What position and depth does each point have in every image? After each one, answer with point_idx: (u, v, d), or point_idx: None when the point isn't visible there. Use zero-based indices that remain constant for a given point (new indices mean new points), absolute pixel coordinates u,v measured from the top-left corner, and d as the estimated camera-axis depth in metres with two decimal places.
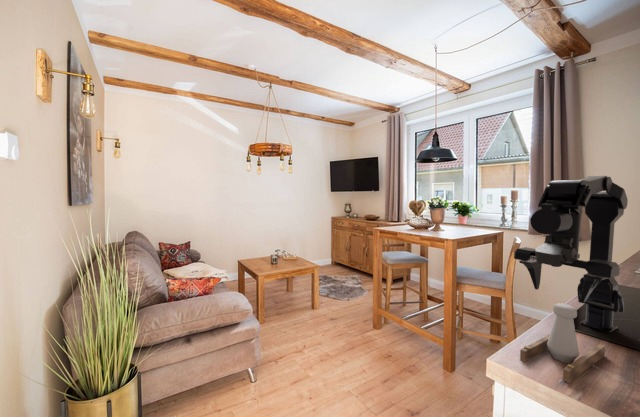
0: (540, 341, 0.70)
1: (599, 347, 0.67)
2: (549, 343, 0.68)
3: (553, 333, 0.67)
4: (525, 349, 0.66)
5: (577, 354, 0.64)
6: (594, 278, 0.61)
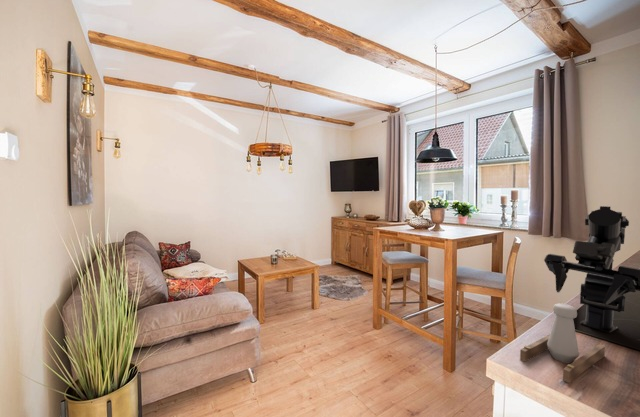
0: (540, 341, 0.70)
1: (599, 347, 0.67)
2: (549, 343, 0.68)
3: (553, 333, 0.67)
4: (525, 349, 0.66)
5: (577, 354, 0.64)
6: (625, 277, 0.65)
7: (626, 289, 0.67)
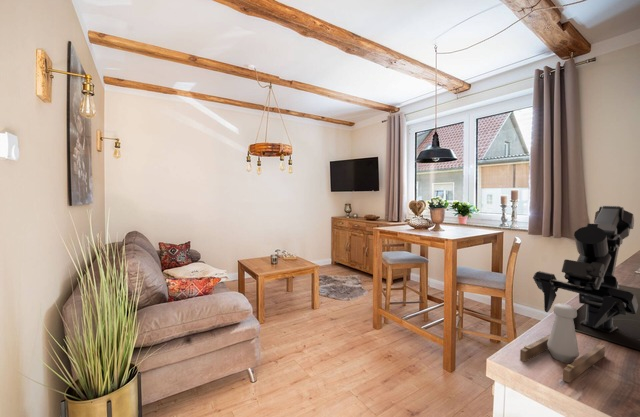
0: (540, 341, 0.70)
1: (599, 347, 0.67)
2: (549, 343, 0.68)
3: (553, 333, 0.67)
4: (525, 349, 0.66)
5: (577, 354, 0.64)
6: (614, 299, 0.62)
7: (616, 311, 0.64)
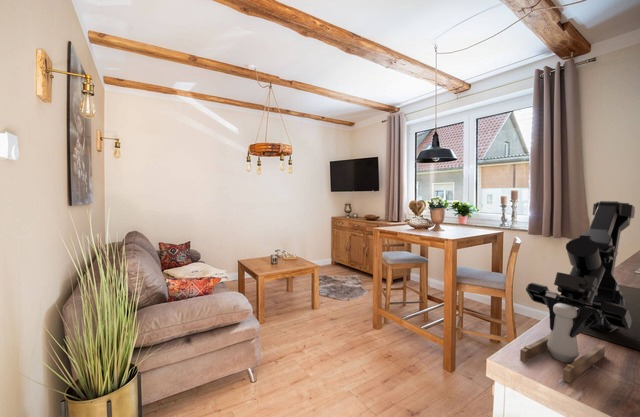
0: (540, 341, 0.70)
1: (599, 347, 0.67)
2: (549, 343, 0.68)
3: (553, 333, 0.67)
4: (525, 349, 0.66)
5: (577, 354, 0.64)
6: (591, 310, 0.63)
7: (593, 321, 0.65)
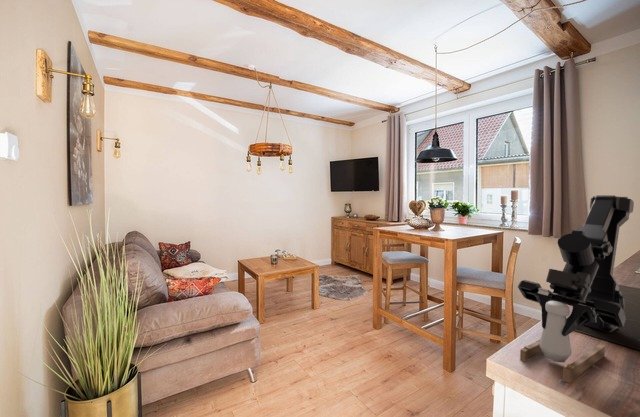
0: None
1: (599, 347, 0.67)
2: (541, 342, 0.66)
3: (545, 331, 0.65)
4: (525, 349, 0.66)
5: (570, 353, 0.62)
6: (583, 307, 0.61)
7: (586, 319, 0.63)
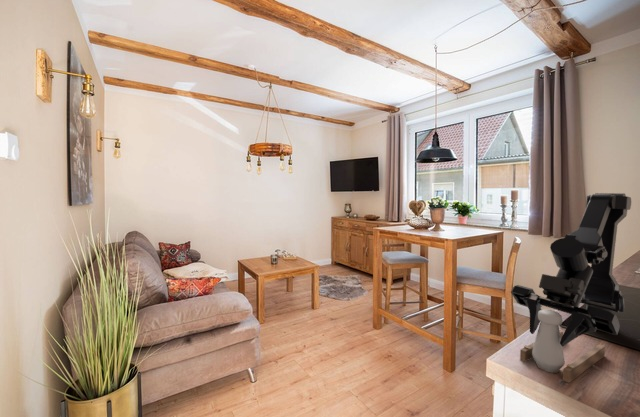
0: None
1: (599, 347, 0.67)
2: (534, 351, 0.64)
3: (538, 341, 0.64)
4: (525, 349, 0.66)
5: (562, 363, 0.61)
6: (583, 316, 0.59)
7: (585, 328, 0.61)
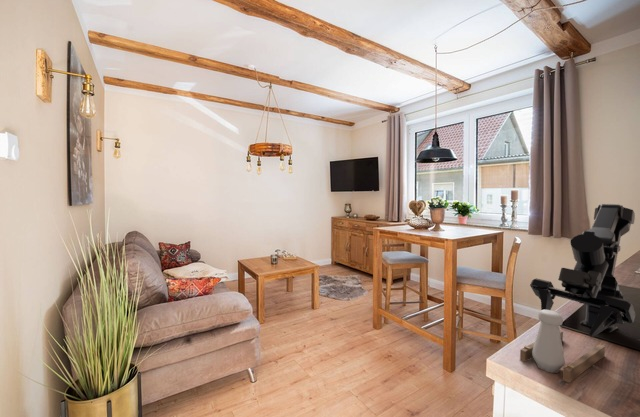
0: None
1: (599, 347, 0.67)
2: (534, 351, 0.64)
3: (538, 341, 0.64)
4: (525, 349, 0.66)
5: (563, 363, 0.61)
6: (611, 309, 0.62)
7: (613, 320, 0.64)
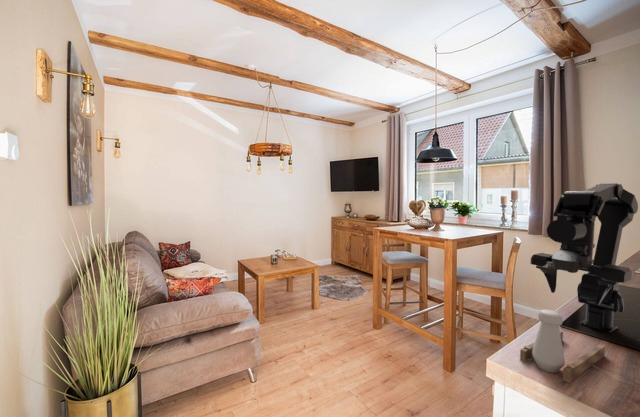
0: None
1: (599, 347, 0.67)
2: (534, 351, 0.64)
3: (538, 341, 0.64)
4: (525, 349, 0.66)
5: (563, 363, 0.61)
6: (608, 283, 0.66)
7: None
